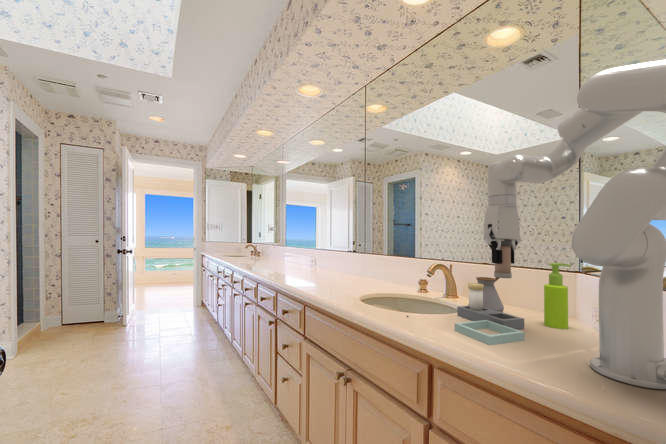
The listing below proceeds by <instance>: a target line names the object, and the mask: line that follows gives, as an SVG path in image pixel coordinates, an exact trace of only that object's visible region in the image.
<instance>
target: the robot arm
mask: <svg viewBox="0 0 666 444" xmlns="http://www.w3.org/2000/svg"><path fill="white" fill-rule="evenodd" d="M576 103H577V105H578V107H579V108H577V109H576V110H574V111H573V112H572V113H570V114H568V116H567V117H565V118H564V119H562V120H561V121H560V122H559V123H558V126H557V133H558V135H559V137H560V139H561V141H560V143H559V144H558V145H557V146H556V147H555V148H553V149H552V150H551V151H549V152H547V153H546V154H545V155H543V156H537V155H529V154H521V153H520V154H513V155H510V156H509V157H506V158H504V159H503V160H500V161H495V162H491V163H490V164H489V165H488V167H487V191H488V192H487V196H488V197H487V198H488V199H487V200H488V201H487V202H488V203H487V204H488V206H486V208H485V213H484V219H483V220H484V221H483V241H484V242H485V243H487V245H488V246H489V249H490V250H491V264H495V263H496V264H502V250H500V248H501V241H502V240H504V241H512V246H511V265H512V264H515V262H516V261H515V251H516V250H517V246H518V244H519V243H520V242H521V241H522V238H521V229H520V227H521V225H520V217H519V211H518V210H519V209H518V207H517V205H518V204H517V183H530V184H543V183H547V182H549V181H552V180H554V179H556V178H557V177H558V176H561V175H562V174H563V173H565V172H568V170H570V169H571V168H572V167H574V166H575V165H576V163H577V162H578V161H579V160H580V158H581V157H582V156H583V154H584V152H585V149H587V148H588V147H589V146H592V145H593V144H594V143H596V142H598V141H599V140H600V139H602V138H604V137H605V136H607V135H608V134H610V133H611V132H613V131H615V130H616V129H618V128H619V127H621V126H623V125H624V124H626V123H628V122H629V121H631V120H632V119H634V118H635V117H637V116H638V115H640V114H641V113H643V112H659V113H663V114H666V59H661V60H660V59H658V60H653V61H647V62H641V63H636V64H635V63H634V64H628V65H620V66H615V67H610V68H606V69H603V70H601V71H599V72H597V73H595V74H593V75H592V76H590V77H589V78H588V79H586V80H585V82H584V83H583V84H581V86H580V88H579V90H578V92H577V96H576ZM652 221H666V147H665V148H664V150H663V151H662V153H661V154H660V156H659V157H658V158H657V160H656V161H655V162H654V163H653V164H652V166H637V167H631V168H628V169H625V170H622V171H620V172H618V173H617V174H615V175H614V176H613V177H611V178H610V179H609V180H608V181H607V182H606V183H605V184H604V185H603V186H602V187H601V189H600V191H599V192H598V194H596V197H595V198H594V199H593V201H592V202H591V204H590V205H589V207H588V208H587V210H586V211H585V212H584V214H583V215H582V217H581V219H580V220H579V222H578V224H577V225H576V226H575V228H574V231H573V233H572V236H571V249H572V251H573V253H574V254H575V256H576V257H577V258H578V259H580V260H581V262H584V263H586V264H588V265H592V266H594V267H595V266H596V267H602V268H601V270H600V274H599V278H598V334H599V335H598V336H599V337H598V338H599V339H598V340H599V341H598V343H599V344H598V345H599V346H598V347H599V348H598V349H599V356H597V357H596V356H595V357H593V358H591V359H590V361H589V363H590V367H591V368H592V369H593V370H594V372H597V373H598V374H601V375H603V376H604V377H607V378H610V379H612V380H616V381H619V382H622V383H625V384H628V385H632V386H635V387H642V388H647V389H655V390H666V358H665V347H664V346H665V343H664V340H665V339H664V338H665V337H664V274H665V267H666V237H665V235H664V234H663V232H662V231H661V230H660V229H659V228H657V227H656V226H655V225H653V224H650V223H651V222H652ZM495 242H497V244H496V243H495Z"/></svg>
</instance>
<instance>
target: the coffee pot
mask: <svg viewBox="0 0 666 444" xmlns="http://www.w3.org/2000/svg"><path fill="white" fill-rule="evenodd" d="M499 279H500V278H497V277H487V276H476V278H475V280H476V282H477V283H480V284H484V289H483V307H485V308H488V309H492V310H495V311H499V312H502V313H504V310H505V307H504V305H503V302H502V300H501V298H500V295H499V294H498V292H497V289H496V287H495V283H496V282H497V281H498V280H499ZM467 306H469V303H468V305H467Z"/></svg>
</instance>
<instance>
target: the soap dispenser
mask: <svg viewBox="0 0 666 444" xmlns="http://www.w3.org/2000/svg"><path fill="white" fill-rule="evenodd" d="M548 266H551V270H552V271H551V272H550V273H549V274H548V283H546V284H544V285H543V298H544V299H543V306H544V309H543V311H544V312H543V315H544V316H543V319H544V323H543V325H544V326H545V327H548V328H552V329H557V330H558V329H559V330H567V329H569V289H568V286H565V285H564V282H563V274H561V273H560V267H561V266H562V267H563V266H564V267H570V268H571V267H572V265H571V264H567V263H561V262H560V263H559V262H550V263H549V262H548Z"/></svg>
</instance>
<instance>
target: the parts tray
mask: <svg viewBox="0 0 666 444" xmlns="http://www.w3.org/2000/svg"><path fill="white" fill-rule="evenodd" d="M485 329H488V330H491V331H494V332H496V333H495V334H487V333H485V332H482V331H480V330H485ZM454 332H457V333H459V334H461V335H464V336H467V337H469V338H471V339H474V340H477V341H479V342H481V343H483V344H486V345H489V346H493V345H494V346H495V345H502V344H508V343H515V342H521V341H525V339H526V338H525V337H526V336H525V335H526V333H525V331H522V330H516V329H513V328H510V327H507V326H504V325H501V324H498V323H495V322H492V321H488V320H482V321H465V322H455V323H454Z"/></svg>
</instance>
